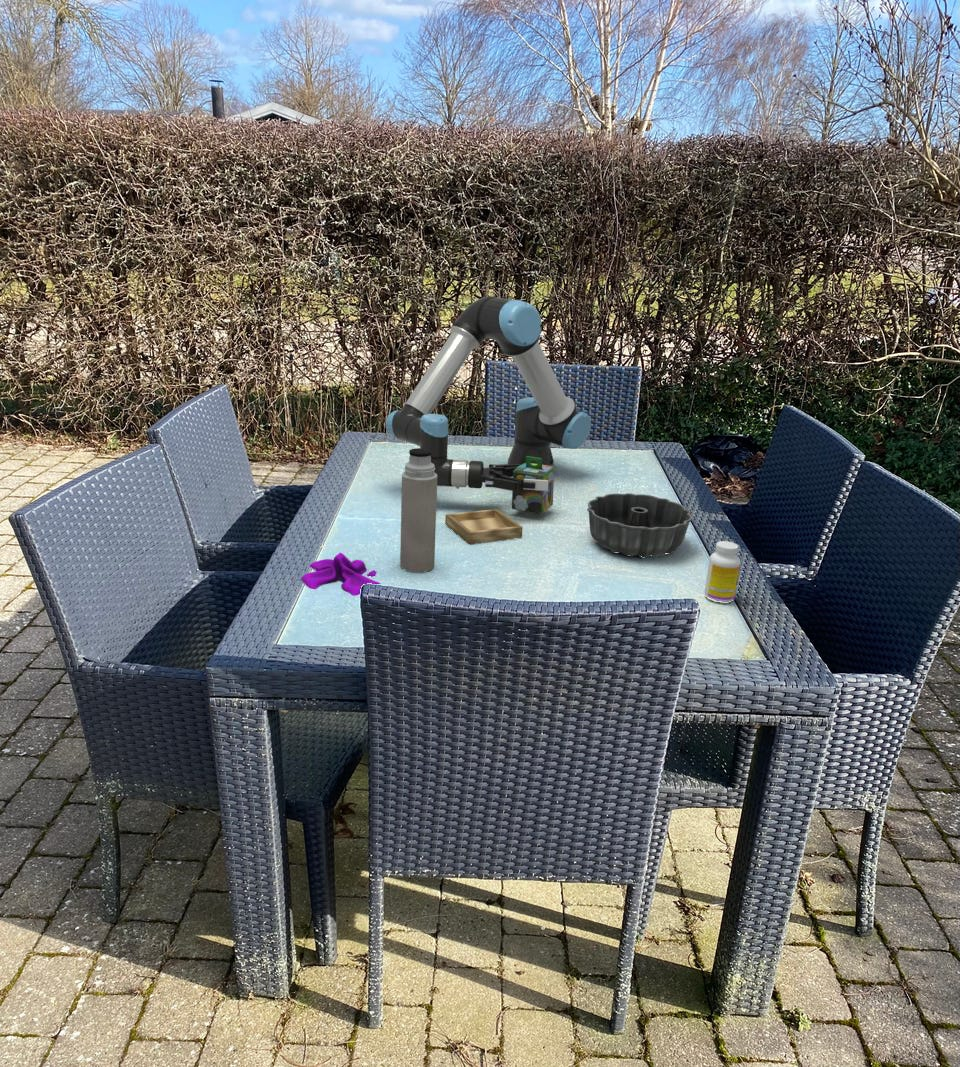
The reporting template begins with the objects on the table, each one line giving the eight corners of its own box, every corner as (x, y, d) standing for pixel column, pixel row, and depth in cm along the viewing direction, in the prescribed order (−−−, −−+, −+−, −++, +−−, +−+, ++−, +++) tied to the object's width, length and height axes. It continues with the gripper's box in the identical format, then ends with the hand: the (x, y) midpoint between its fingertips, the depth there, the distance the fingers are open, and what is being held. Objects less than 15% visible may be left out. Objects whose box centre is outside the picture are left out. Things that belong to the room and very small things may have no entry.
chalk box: (553, 505, 249) (557, 454, 244) (541, 515, 241) (545, 462, 236) (522, 500, 253) (525, 449, 248) (510, 509, 245) (513, 457, 240)
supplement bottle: (738, 604, 197) (747, 550, 192) (709, 604, 196) (717, 550, 191) (728, 592, 203) (736, 539, 198) (700, 592, 202) (707, 539, 198)
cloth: (377, 599, 191) (377, 573, 189) (291, 594, 192) (290, 567, 190) (391, 560, 212) (391, 536, 210) (313, 556, 213) (313, 532, 210)
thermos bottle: (408, 557, 213) (410, 443, 203) (439, 563, 211) (443, 448, 201) (394, 569, 206) (396, 451, 196) (426, 575, 204) (430, 456, 194)
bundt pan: (679, 573, 213) (684, 533, 209) (572, 554, 221) (575, 516, 217) (694, 538, 236) (699, 502, 233) (596, 522, 244) (600, 487, 241)
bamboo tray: (495, 519, 242) (496, 508, 241) (521, 537, 229) (522, 527, 228) (445, 525, 236) (445, 514, 235) (469, 544, 223) (469, 533, 222)
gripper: (471, 474, 257) (547, 479, 256) (463, 500, 235) (546, 505, 234) (472, 449, 255) (549, 454, 253) (464, 473, 233) (548, 478, 231)
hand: (548, 479), depth 244 cm, fingers closed on chalk box, 11 cm apart
